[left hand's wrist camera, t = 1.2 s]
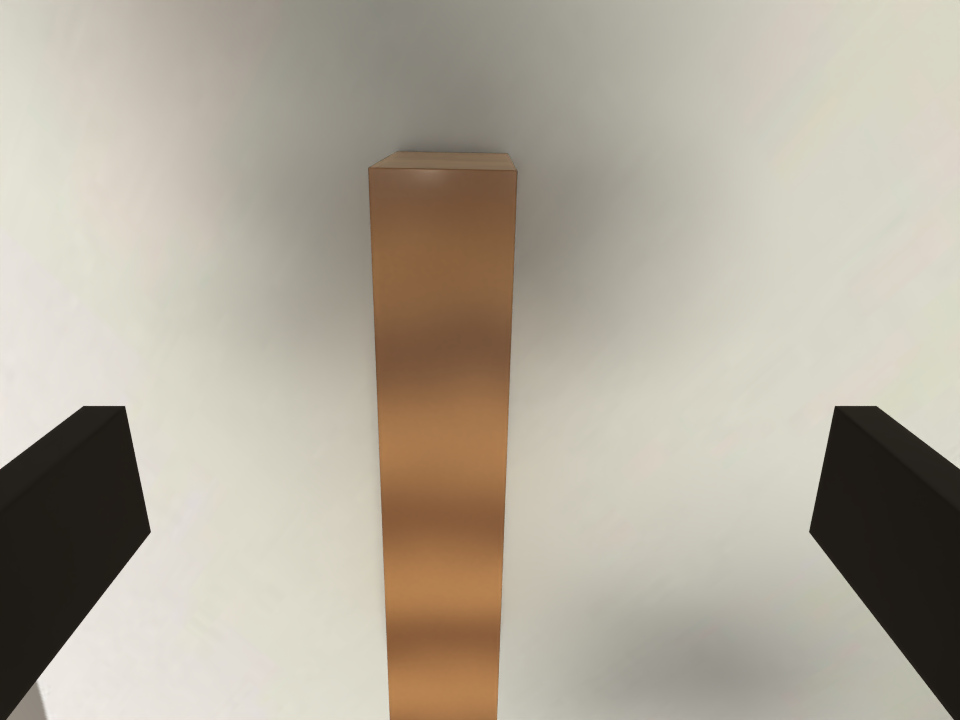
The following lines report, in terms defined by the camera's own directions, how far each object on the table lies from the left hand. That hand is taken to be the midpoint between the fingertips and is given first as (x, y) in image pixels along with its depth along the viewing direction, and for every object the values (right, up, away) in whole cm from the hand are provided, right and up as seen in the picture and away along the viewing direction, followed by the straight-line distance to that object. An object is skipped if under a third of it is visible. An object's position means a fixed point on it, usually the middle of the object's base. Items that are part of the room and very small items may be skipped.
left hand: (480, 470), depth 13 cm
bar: (-2, -1, +23) cm, 23 cm away
